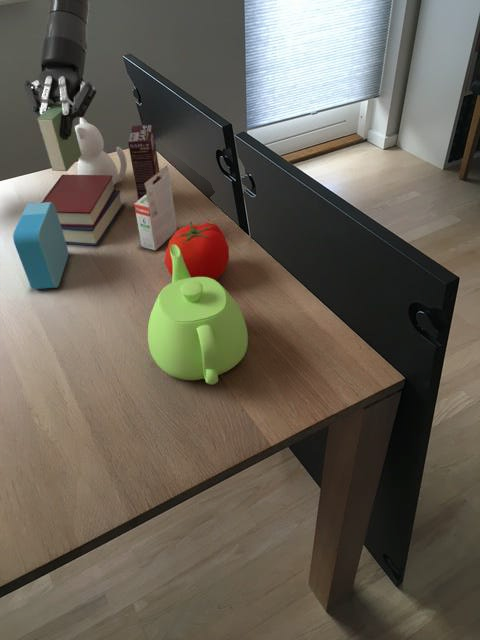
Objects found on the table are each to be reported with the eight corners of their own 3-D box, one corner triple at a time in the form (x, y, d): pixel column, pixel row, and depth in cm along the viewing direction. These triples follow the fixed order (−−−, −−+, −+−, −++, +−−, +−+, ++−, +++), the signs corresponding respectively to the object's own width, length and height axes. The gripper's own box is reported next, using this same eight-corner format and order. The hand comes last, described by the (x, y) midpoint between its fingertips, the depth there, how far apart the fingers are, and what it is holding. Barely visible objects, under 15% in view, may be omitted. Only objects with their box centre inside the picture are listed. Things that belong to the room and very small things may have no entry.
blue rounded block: (46, 254, 106) (28, 200, 98) (69, 253, 106) (53, 198, 98) (32, 292, 97) (10, 236, 89) (57, 291, 97) (38, 234, 89)
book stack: (40, 242, 109) (29, 210, 104) (72, 202, 121) (63, 172, 116) (96, 246, 107) (88, 214, 102) (123, 205, 119) (117, 175, 114)
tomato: (245, 269, 99) (243, 222, 93) (201, 306, 92) (195, 257, 85) (199, 250, 105) (194, 204, 98) (154, 284, 97) (145, 236, 91)
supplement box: (162, 211, 116) (151, 141, 106) (139, 213, 116) (126, 142, 105) (163, 192, 123) (153, 123, 112) (142, 193, 122) (130, 125, 112)
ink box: (141, 247, 106) (127, 179, 96) (163, 227, 111) (152, 161, 102) (156, 251, 105) (144, 183, 95) (178, 231, 110) (169, 164, 100)
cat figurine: (79, 177, 130) (63, 115, 120) (131, 173, 130) (120, 111, 120) (75, 195, 123) (57, 131, 113) (129, 191, 124) (117, 127, 114)
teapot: (140, 314, 91) (126, 250, 82) (224, 295, 94) (220, 232, 85) (164, 412, 75) (150, 346, 67) (266, 386, 78) (265, 319, 69)
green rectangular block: (52, 170, 102) (36, 118, 95) (67, 154, 107) (53, 103, 100) (66, 171, 102) (52, 119, 95) (81, 154, 107) (68, 104, 100)
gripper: (18, 34, 97) (7, 128, 96) (91, 34, 95) (81, 130, 94) (40, 56, 104) (30, 144, 104) (108, 57, 102) (98, 146, 101)
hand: (54, 137), depth 99 cm, fingers closed on green rectangular block, 3 cm apart
